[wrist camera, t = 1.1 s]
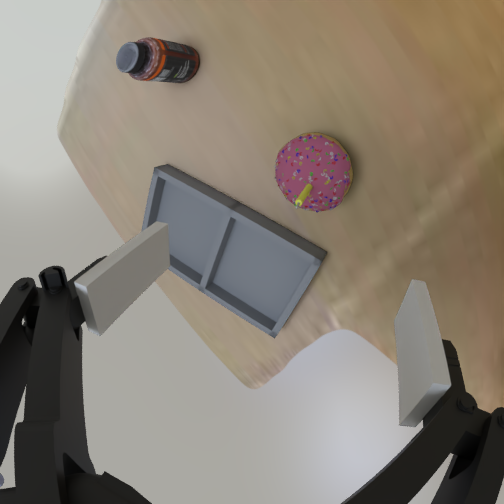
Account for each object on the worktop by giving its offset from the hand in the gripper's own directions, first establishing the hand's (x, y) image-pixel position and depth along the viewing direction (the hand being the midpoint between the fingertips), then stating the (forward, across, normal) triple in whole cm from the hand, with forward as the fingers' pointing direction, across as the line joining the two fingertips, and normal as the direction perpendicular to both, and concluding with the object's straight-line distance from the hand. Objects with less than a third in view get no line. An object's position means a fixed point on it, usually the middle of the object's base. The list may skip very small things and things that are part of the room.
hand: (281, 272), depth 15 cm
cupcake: (+24, 0, -1) cm, 24 cm away
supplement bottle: (+27, +22, -13) cm, 37 cm away
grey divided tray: (+25, +12, +14) cm, 31 cm away
